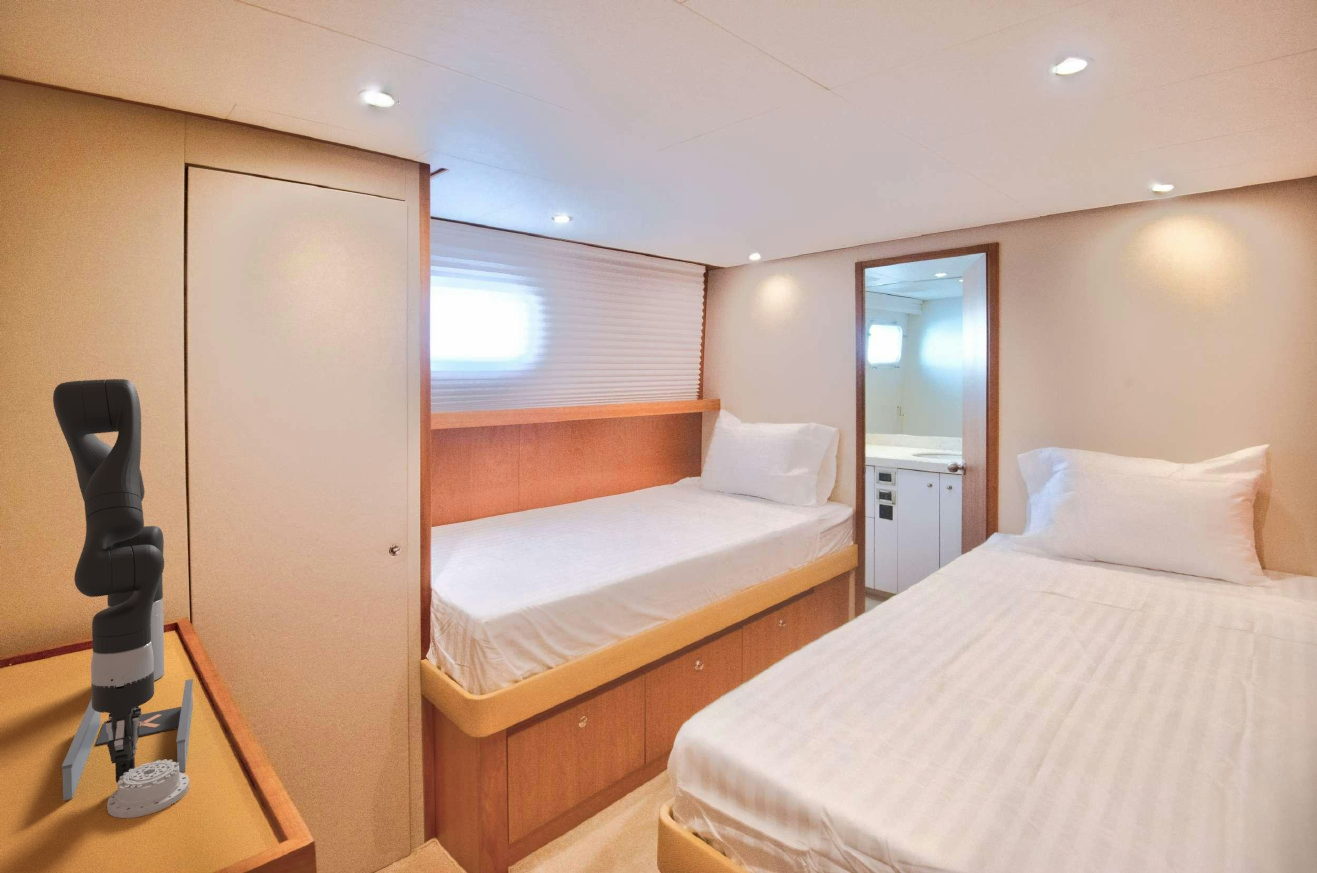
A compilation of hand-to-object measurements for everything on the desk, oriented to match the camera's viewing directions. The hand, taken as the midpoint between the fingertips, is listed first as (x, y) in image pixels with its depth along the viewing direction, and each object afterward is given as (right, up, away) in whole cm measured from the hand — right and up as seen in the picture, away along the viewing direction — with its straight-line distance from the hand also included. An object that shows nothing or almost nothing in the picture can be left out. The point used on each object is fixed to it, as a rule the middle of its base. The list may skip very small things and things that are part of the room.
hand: (125, 779), depth 101 cm
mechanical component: (+5, -2, -2) cm, 6 cm away
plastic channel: (-8, -1, +12) cm, 14 cm away
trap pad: (-13, 0, +19) cm, 23 cm away
